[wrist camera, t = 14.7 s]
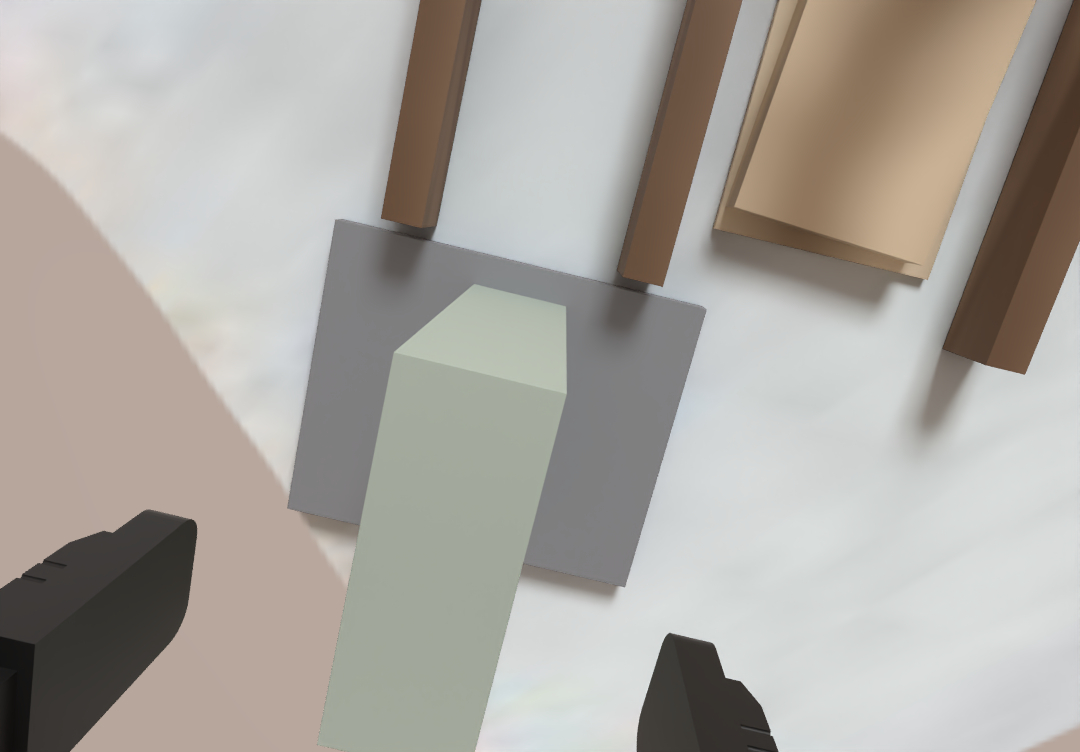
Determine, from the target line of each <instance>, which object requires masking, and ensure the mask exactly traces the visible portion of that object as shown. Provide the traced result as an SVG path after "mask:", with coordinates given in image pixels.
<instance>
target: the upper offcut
mask: <svg viewBox="0 0 1080 752" xmlns="http://www.w3.org/2000/svg"><path fill="white" fill-rule="evenodd" d="M1035 2H1036V0H798V2H797V5H796V8H795V11H794V13H793V16H792V19H791V22H790V25H789V28H788V30H787V33H786V36H785V39H784V42H783V45H782V48H781V50H780V53H779V56H778V59H777V62H776V65H775V67H774V70H773V73H772V76H771V79H770V82H769V84H768V87H767V90H766V93H765V96H764V99H763V102H762V104H761V107H760V110H759V113H758V116H757V119H756V121H755V124H754V127H753V130H752V133H751V136H750V138H749V141H748V144H747V147H746V150H745V153H744V155H743V158H742V161H741V164H740V167H739V170H738V173H737V175H736V178H735V181H734V184H733V187H732V190H731V192H730V195H729V198H728V201H727V204H726V207H728V208H731V209H735V210H738V211H741V212H744V213H747V214H751V215H754V216H757V217H760V218H764V219H767V220H770V221H773V222H776V223H780V224H783V225H786V226H789V227H792V228H796V229H799V230H802V231H805V232H808V233H812V234H815V235H818V236H821V237H825V238H828V239H831V240H834V241H837V242H841V243H844V244H847V245H850V246H853V247H857V248H860V249H863V250H866V251H870V252H873V253H876V254H879V255H882V256H886V257H889V258H892V259H895V260H898V261H902V262H905V263H910V264H916V265H923V266H924V264H925V261H926V259H927V257H928V254H929V252H930V250H931V247H932V245H933V243H934V240H935V238H936V236H937V233H938V231H939V228H940V226H941V224H942V221H943V219H944V217H945V214H946V212H947V210H948V207H949V205H950V203H951V200H952V198H953V195H954V193H955V191H956V188H957V186H958V184H959V181H960V179H961V177H962V174H963V172H964V170H965V167H966V165H967V163H968V160H969V158H970V155H971V153H972V151H973V148H974V146H975V144H976V141H977V139H978V137H979V134H980V132H981V130H982V127H983V125H984V122H985V120H986V118H987V115H988V113H989V111H990V108H991V106H992V104H993V101H994V99H995V97H996V94H997V92H998V89H999V87H1000V85H1001V82H1002V80H1003V78H1004V75H1005V73H1006V71H1007V68H1008V66H1009V64H1010V61H1011V59H1012V56H1013V54H1014V52H1015V49H1016V47H1017V45H1018V42H1019V40H1020V38H1021V35H1022V33H1023V31H1024V28H1025V26H1026V23H1027V21H1028V19H1029V16H1030V14H1031V12H1032V9H1033V7H1034V5H1035Z"/></svg>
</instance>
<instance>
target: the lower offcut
mask: <svg viewBox="0 0 1080 752" xmlns="http://www.w3.org/2000/svg"><path fill="white" fill-rule="evenodd" d="M797 2H798V0H778V1H777V5H776V8H775V12H774V15H773V19H772V22H771V26H770V29H769V33H768V36H767V40H766V43H765V47H764V50H763V54H762V57H761V61H760V64H759V68H758V71H757V75H756V78H755V82H754V85H753V89H752V93H751V96H750V100H749V103H748V107H747V110H746V114H745V117H744V121H743V124H742V128H741V131H740V135H739V138H738V142H737V145H736V149H735V152H734V156H733V159H732V163H731V166H730V170H729V173H728V177H727V180H726V184H725V187H724V191H723V194H722V198H721V201H720V205H719V208H718V212H717V215H716V219H715V222H714V226H713V228H714V229H718V230H722V231H726V232H731V233H735V234H739V235H743V236H747V237H751V238H755V239H760V240H764V241H768V242H772V243H776V244H780V245H784V246H789V247H793V248H797V249H801V250H805V251H809V252H814V253H818V254H822V255H826V256H830V257H834V258H838V259H843V260H847V261H851V262H855V263H859V264H863V265H867V266H872V267H876V268H880V269H884V270H888V271H892V272H897V273H901V274H905V275H909V276H913V277H917V278H921V279H926V280H928V278H929V275H930V273H931V270H932V267H933V264H934V262H935V259H936V256H937V253H938V251H939V248H940V245H941V242H942V239H943V237H944V234H945V231H946V228H947V226H948V223H949V220H950V217H951V215H952V212H953V209H954V206H955V204H956V201H957V198H958V195H959V193H960V190H961V187H962V184H963V181H964V179H965V176H966V173H967V170H968V168H969V165H970V162H971V159H972V157H973V154H974V151H975V148H976V146H977V143H978V140H979V137H980V135H981V132H982V130H981V132H980V134H979V137H978V139H977V141H976V144H975V146H974V148H973V151H972V153H971V155H970V158H969V160H968V163H967V165H966V167H965V170H964V172H963V174H962V177H961V179H960V181H959V184H958V186H957V188H956V191H955V193H954V195H953V198H952V200H951V203H950V205H949V207H948V210H947V212H946V214H945V217H944V219H943V221H942V224H941V226H940V228H939V231H938V233H937V236H936V238H935V240H934V243H933V245H932V247H931V250H930V252H929V254H928V257H927V259H926V261H925V264H924V266H923V265H916V264H910V263H905V262H902V261H898V260H895V259H892V258H889V257H886V256H882V255H879V254H876V253H873V252H870V251H866V250H863V249H860V248H857V247H853V246H850V245H847V244H844V243H841V242H837V241H834V240H831V239H828V238H825V237H821V236H818V235H815V234H812V233H808V232H805V231H802V230H799V229H796V228H792V227H789V226H786V225H783V224H780V223H776V222H773V221H770V220H767V219H764V218H760V217H757V216H754V215H751V214H747V213H744V212H741V211H738V210H735V209H731V208H728V207H726V204H727V201H728V198H729V195H730V192H731V190H732V187H733V184H734V181H735V178H736V175H737V173H738V170H739V167H740V164H741V161H742V158H743V155H744V153H745V150H746V147H747V144H748V141H749V138H750V136H751V133H752V130H753V127H754V124H755V121H756V119H757V116H758V113H759V110H760V107H761V104H762V102H763V99H764V96H765V93H766V90H767V87H768V84H769V82H770V79H771V76H772V73H773V70H774V67H775V65H776V62H777V59H778V56H779V53H780V50H781V48H782V45H783V42H784V39H785V36H786V33H787V30H788V28H789V25H790V22H791V19H792V16H793V13H794V11H795V8H796V5H797ZM985 121H986V120H985ZM984 124H985V122H984ZM983 126H984V125H983ZM982 129H983V127H982Z"/></svg>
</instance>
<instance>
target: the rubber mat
mask: <svg viewBox="0 0 1080 752" xmlns="http://www.w3.org/2000/svg"><path fill="white" fill-rule="evenodd" d="M474 284H476V285H480V286H484V287H489V288H493V289H497V290H501V291H505V292H509V293H513V294H517V295H521V296H526V297H530V298H534V299H538V300H542V301H546V302H550V303H554V304H558V305H562V306H566V361H567V395H566V399H565V403H564V407H563V411H562V414H561V418H560V422H559V426H558V430H557V434H556V438H555V442H554V446H553V449H552V453H551V457H550V461H549V465H548V469H547V473H546V477H545V480H544V484H543V488H542V492H541V496H540V500H539V504H538V508H537V512H536V515H535V519H534V523H533V527H532V531H531V535H530V539H529V543H528V547H527V550H526V554H525V558H524V562H523V564H528V565H532V566H536V567H540V568H545V569H549V570H553V571H558V572H562V573H566V574H570V575H575V576H579V577H583V578H587V579H592V580H596V581H600V582H605V583H609V584H613V585H617V586H622V587H625V585H626V582H627V579H628V575H629V572H630V568H631V565H632V562H633V558H634V555H635V551H636V548H637V545H638V541H639V538H640V534H641V531H642V528H643V524H644V521H645V517H646V514H647V511H648V507H649V504H650V500H651V497H652V494H653V490H654V487H655V483H656V480H657V477H658V473H659V470H660V466H661V463H662V460H663V456H664V453H665V449H666V446H667V443H668V439H669V436H670V432H671V429H672V426H673V422H674V419H675V415H676V412H677V409H678V405H679V402H680V398H681V395H682V392H683V388H684V385H685V381H686V378H687V375H688V371H689V368H690V364H691V361H692V358H693V354H694V351H695V347H696V344H697V341H698V337H699V334H700V330H701V327H702V324H703V320H704V317H705V314H706V309H705V308H704V307H702V306H699V305H695V304H690V303H686V302H682V301H678V300H674V299H670V298H666V297H662V296H657V295H653V294H649V293H645V292H641V291H637V290H633V289H629V288H624V287H620V286H616V285H612V284H608V283H604V282H600V281H596V280H591V279H587V278H583V277H579V276H575V275H571V274H567V273H563V272H558V271H554V270H550V269H546V268H542V267H538V266H534V265H530V264H525V263H521V262H517V261H513V260H509V259H505V258H501V257H497V256H492V255H488V254H484V253H480V252H476V251H472V250H468V249H464V248H459V247H455V246H451V245H447V244H443V243H439V242H435V241H431V240H426V239H422V238H418V237H414V236H410V235H406V234H402V233H398V232H393V231H389V230H385V229H381V228H377V227H373V226H369V225H365V224H360V223H356V222H352V221H348V220H344V219H339V220H335V225H334V231H333V237H332V243H331V249H330V255H329V261H328V267H327V273H326V279H325V285H324V291H323V297H322V303H321V309H320V315H319V321H318V327H317V333H316V339H315V345H314V351H313V357H312V363H311V369H310V375H309V381H308V387H307V393H306V399H305V405H304V411H303V417H302V423H301V429H300V435H299V441H298V447H297V453H296V459H295V465H294V472H293V478H292V484H291V490H290V496H289V502H288V508H289V509H292V510H296V511H301V512H305V513H309V514H313V515H318V516H322V517H326V518H331V519H335V520H339V521H343V522H348V523H352V524H356V525H360V522H361V517H362V512H363V507H364V502H365V497H366V492H367V487H368V482H369V476H370V471H371V466H372V461H373V456H374V451H375V446H376V441H377V436H378V430H379V425H380V420H381V415H382V410H383V405H384V400H385V395H386V390H387V384H388V379H389V374H390V369H391V364H392V359H393V354H394V352H395V351H396V350H397V349H398V348H399V347H401V346H402V345H403V344H404V343H405V342H406V341H408V340H409V339H410V338H411V337H412V336H413V335H415V334H416V333H417V332H418V331H419V330H421V329H422V328H423V327H424V326H425V325H426V324H428V323H429V322H430V321H431V320H432V319H434V318H435V317H436V316H437V315H438V314H439V313H441V312H442V311H443V310H444V309H445V308H446V307H448V306H449V305H450V304H451V303H452V302H454V301H455V300H456V299H457V298H458V297H459V296H461V295H462V294H463V293H464V292H465V291H466V290H468V289H469V288H470V287H471V286H472V285H474Z"/></svg>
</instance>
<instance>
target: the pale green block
mask: <svg viewBox="0 0 1080 752" xmlns="http://www.w3.org/2000/svg"><path fill="white" fill-rule="evenodd" d="M566 395H567V361H566V306H562V305H558V304H554V303H550V302H546V301H542V300H538V299H534V298H530V297H526V296H521V295H517V294H513V293H509V292H505V291H501V290H497V289H493V288H489V287H484V286H480V285H476V284H474V285H472V286H471V287H470V288H469V289H468V290H466V291H465V292H464V293H463V294H462V295H461V296H459V297H458V298H457V299H456V300H455V301H454V302H452V303H451V304H450V305H449V306H448V307H446V308H445V309H444V310H443V311H442V312H441V313H439V314H438V315H437V316H436V317H435V318H434V319H432V320H431V321H430V322H429V323H428V324H426V325H425V326H424V327H423V328H422V329H421V330H419V331H418V332H417V333H416V334H415V335H413V336H412V337H411V338H410V339H409V340H408V341H406V342H405V343H404V344H403V345H402V346H401V347H399V348H398V349H397V350H396V351H395V352H394V354H393V359H392V364H391V369H390V374H389V379H388V384H387V390H386V395H385V400H384V405H383V410H382V415H381V420H380V425H379V430H378V436H377V441H376V446H375V451H374V456H373V461H372V466H371V471H370V476H369V482H368V487H367V492H366V497H365V502H364V507H363V512H362V517H361V522H360V528H359V533H358V538H357V543H356V548H355V553H354V558H353V563H352V568H351V574H350V579H349V584H348V589H347V594H346V599H345V605H344V610H343V615H342V620H341V625H340V630H339V635H338V640H337V645H336V650H335V656H334V661H333V666H332V671H331V676H330V681H329V686H328V692H327V696H326V702H325V706H324V712H323V717H322V722H321V727H320V732H319V738H318V743H317V745H320V746H324V747H328V748H333V749H337V750H341V751H346V752H475V749H476V745H477V741H478V737H479V733H480V729H481V725H482V721H483V718H484V714H485V710H486V706H487V702H488V698H489V694H490V690H491V686H492V683H493V679H494V675H495V671H496V667H497V663H498V659H499V655H500V651H501V648H502V644H503V640H504V636H505V632H506V628H507V624H508V620H509V616H510V613H511V609H512V605H513V601H514V597H515V593H516V589H517V585H518V582H519V578H520V574H521V570H522V566H523V562H524V558H525V554H526V550H527V547H528V543H529V539H530V535H531V531H532V527H533V523H534V519H535V515H536V512H537V508H538V504H539V500H540V496H541V492H542V488H543V484H544V480H545V477H546V473H547V469H548V465H549V461H550V457H551V453H552V449H553V446H554V442H555V438H556V434H557V430H558V426H559V422H560V418H561V414H562V411H563V407H564V403H565V399H566Z"/></svg>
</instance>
